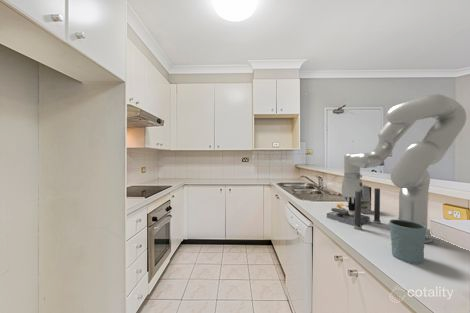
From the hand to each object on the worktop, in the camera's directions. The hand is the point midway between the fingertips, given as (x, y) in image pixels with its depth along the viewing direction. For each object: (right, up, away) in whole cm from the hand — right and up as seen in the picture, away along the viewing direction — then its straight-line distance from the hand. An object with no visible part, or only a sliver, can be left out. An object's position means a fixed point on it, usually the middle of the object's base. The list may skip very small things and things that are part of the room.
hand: (351, 210), depth 115 cm
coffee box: (+16, -6, +18) cm, 25 cm away
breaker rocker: (-2, 0, +3) cm, 3 cm away
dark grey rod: (-4, -6, -12) cm, 14 cm away
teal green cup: (-3, -7, -40) cm, 41 cm away
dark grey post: (+11, -6, -4) cm, 13 cm away
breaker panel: (-1, -6, +2) cm, 6 cm away
